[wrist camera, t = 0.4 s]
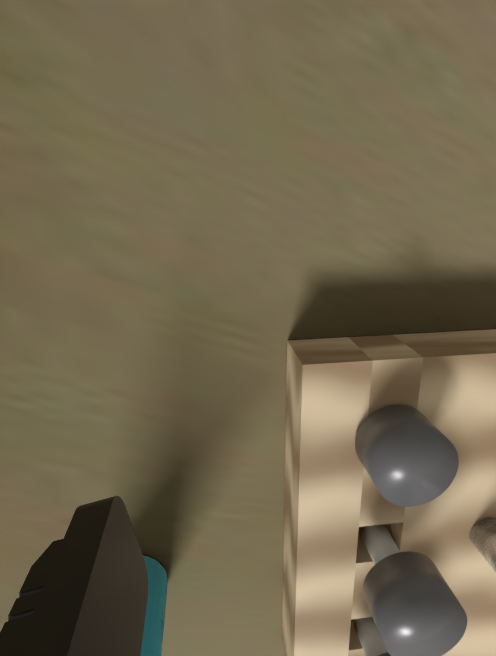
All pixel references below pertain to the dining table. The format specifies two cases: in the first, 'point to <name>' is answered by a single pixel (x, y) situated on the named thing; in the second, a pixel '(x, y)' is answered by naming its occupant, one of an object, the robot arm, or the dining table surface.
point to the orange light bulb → (485, 539)
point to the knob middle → (410, 599)
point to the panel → (361, 493)
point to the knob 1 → (370, 637)
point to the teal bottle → (154, 608)
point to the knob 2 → (406, 455)
